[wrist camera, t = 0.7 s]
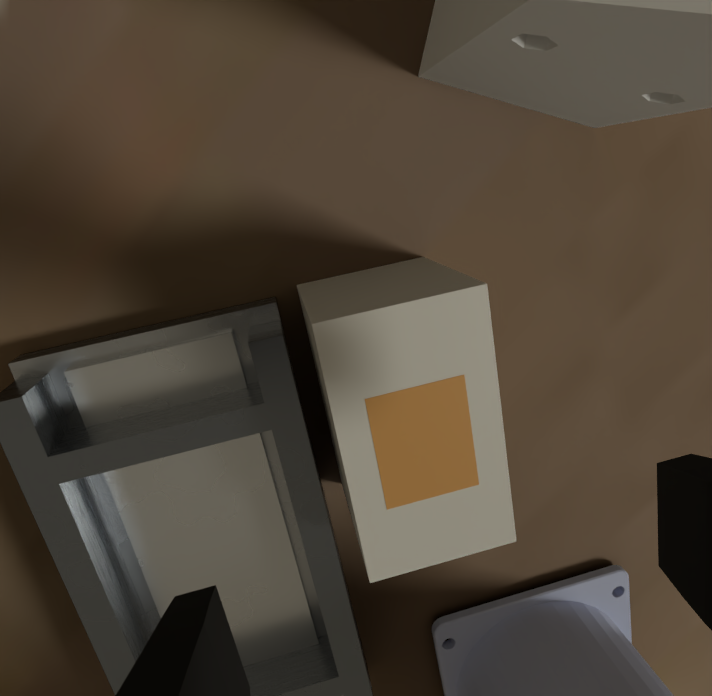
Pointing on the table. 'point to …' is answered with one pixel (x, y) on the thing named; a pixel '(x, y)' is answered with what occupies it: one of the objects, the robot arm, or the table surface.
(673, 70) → the white wedge bracket
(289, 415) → the rail mount
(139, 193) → the table surface
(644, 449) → the table surface
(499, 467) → the module
